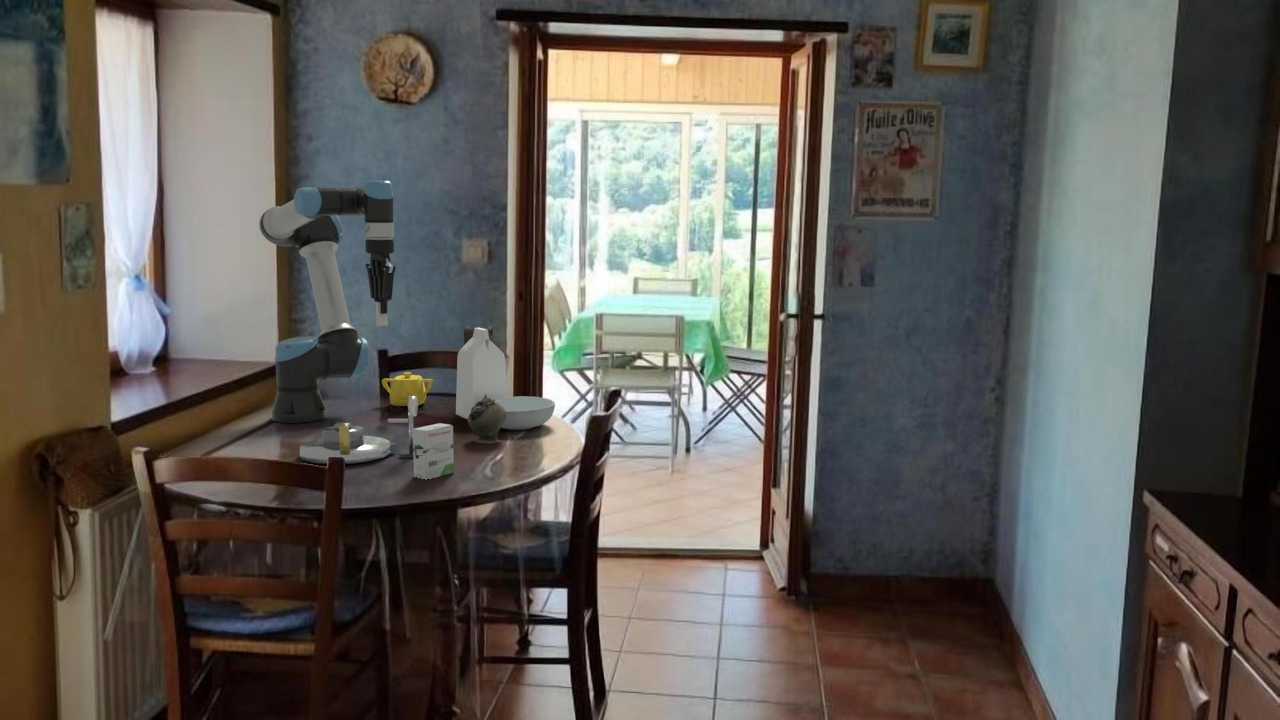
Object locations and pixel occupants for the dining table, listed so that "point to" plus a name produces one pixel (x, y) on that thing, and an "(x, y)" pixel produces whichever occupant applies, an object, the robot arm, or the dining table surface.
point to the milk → (479, 372)
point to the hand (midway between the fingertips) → (382, 325)
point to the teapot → (407, 388)
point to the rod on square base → (411, 412)
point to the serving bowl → (526, 412)
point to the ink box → (433, 451)
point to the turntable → (347, 449)
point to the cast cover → (332, 436)
